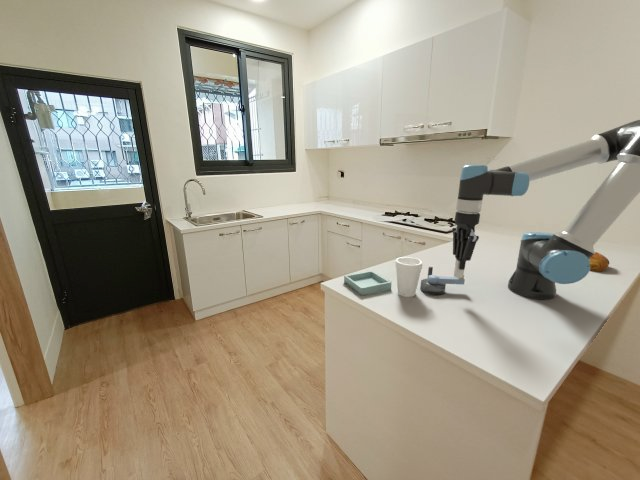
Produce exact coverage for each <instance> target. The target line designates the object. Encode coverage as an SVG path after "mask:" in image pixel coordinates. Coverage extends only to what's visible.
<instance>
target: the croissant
mask: <svg viewBox="0 0 640 480" xmlns="http://www.w3.org/2000/svg"><path fill="white" fill-rule="evenodd" d="M594 252H595V251H594ZM589 261H590V271H593V272H603V271H605V270H606V269H608V267H609V265H610V260H609V259H608V258H607V257H606V256H605V255H603V254H601V252H597V251H596V252H595V253H594V255H593V256H592V257H591V258H590V259H589Z"/></svg>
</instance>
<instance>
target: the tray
mask: <svg viewBox="0 0 640 480" xmlns="http://www.w3.org/2000/svg"><path fill="white" fill-rule="evenodd" d="M343 283H344V284H346V285H347V286H348V287H349V288H351V289H352V290H353V291H355V292H356V293H358V295H360V296H361V297H362V296H365V295H366V296H367V295H371V294H376V293H381V292H385V291H389V290H392V281H390V280H388V279H387V278H385V277H383V276H382V275H380V274H379V273H377V272H376V271H373V270H367V271H364V272H363V271H362V272H358V273H352V274H346V275H344V276H343Z"/></svg>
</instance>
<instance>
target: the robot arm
mask: <svg viewBox="0 0 640 480" xmlns="http://www.w3.org/2000/svg"><path fill="white" fill-rule="evenodd" d="M613 161H617V164H616V166H615V167H614V168H613V169H612V170H611V172H610V173H609V174H608V175H607V176H606V178H605V179H604V180H603V181H602V183H601V184H600V185H599V187H598V188H597V189H596V190H595V191H594V193H593V194H592V195H591V196H590V197H589V198H588V200H587V201H586V202H585V204H584V205H583V206H582V208H581V209H580V210H579V211H578V212H577V213H576V215H574V217H573V219H571V221H570V222H569V224H568V225H567V226H566V227H565V228H564V230H563V231H560V232H555V233H551V232H537V231H528V232H527V231H526V232H524V233H523V234H522V237H521V239H520V245H519V251H518V256H517V262H516V269H515V271H514V272H513V273H512V274H511V276H510V278H509V280H508V284H507V288H508V290H510V291H511V292H513V293H514V294H517V295H520V296H522V297H525V298H531V299H535V300H536V299H537V300H552V299H555V297H556V295H557V286H556V284H558V285H568V284H575V283H577V282H580V281H581V280H583V279H585V278H586V276H587V275H588V274H589V273H590V272H591V270H590V261H589V259H590V258H591V257H592V256H593V255H594V253H595V249H594V245H595V244H596V243H597V242H598V241H599V240H600V239H601V238H602V237H603V235H604V234H605V233H606V232H607V230H608V229H609V228H610V227H611V226H612V225H614V223H615V222H616V220H617V219H618V218H619V217H620V216H621V215H622V214H623V212H624V211H625V210H626V209H627V208H628V206H629V205H630V204H631V203H632V202H633V201H634V200H635V199H636V198H637V196H638V195H639V194H640V119H637V120H634V121H631V122H630V121H629V122H628V123H624V124H623V125H620V126H618V127H614V128H612V129H609V130H607V131H604V132H601V133H598V134H595V135H593V136H591V138H590V139H589V140H585V141H583V142H579V143H577V144H573V145H570V146H566V147H564V148H563V147H562V148H561V149H558V150H557V149H556V150H553V151H550V152H548V153H545V154H541V155H539V156H534V157H532V158H527V159H526V160H523V161H519V162H516V163H513V164H509V165H506V166H504V167H501V168H500V167H499V168H497V169H490V170H489V169H488V166H487V165H485V164H465V165H464V166H463V167H461V173H460V178H459V187H458V193H457V194H458V195H457V200H456V207H455V208H456V209H455V210H456V212H455V215H454V222H455V224H456V227H453V228H451V229H452V255H453V256H454V257H455V266H454V271H453V273H454V274H453V277H456V278H457V277H463V275H464V274H465V268H466V263H467V261H469V262H470V261H471V260H472V257H473V254H474V251H475V247H476V244H477V242H478V241H479V238H480V237H479V236H478V235H476V234H475V232H476V229H475V228H476V225H477V226H478V225H479V223H480V218H481V214H480V212H481V211H482V204H483V199H484V195H486V196H489V195H490V196H503V197H504V196H505V197H506V196H509V197H519V196H520V197H522V196H524V195H526V193H527V191H528V189H529V186H530V182H531V181H535V180H539V179H543V178H545V177H549V176H552V175H557V174H560V173H562V172H567V171H570V170H574V169H576V168H580V167H581V168H582V167H584V166H587V165H591V164H594V163H597V164H605V163H609V162H613ZM464 276H465V275H464Z"/></svg>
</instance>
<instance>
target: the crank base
mask: <svg viewBox="0 0 640 480" xmlns="http://www.w3.org/2000/svg"><path fill="white" fill-rule="evenodd" d="M433 270H434V269H433V266H428V269H427V271H428V272H427V277H428V276H429V275H433ZM446 285H447V284H430V283H428V278H423V279H421V281H420V291H421V292H423V294H427V295H430V296H442V295H445V293H446Z"/></svg>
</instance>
